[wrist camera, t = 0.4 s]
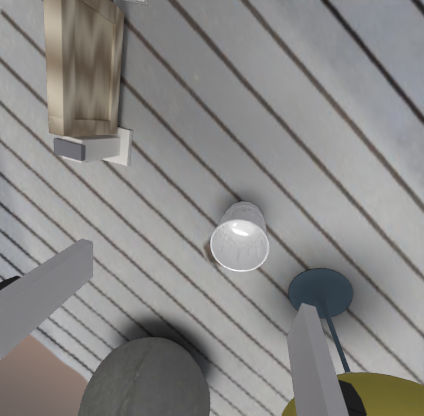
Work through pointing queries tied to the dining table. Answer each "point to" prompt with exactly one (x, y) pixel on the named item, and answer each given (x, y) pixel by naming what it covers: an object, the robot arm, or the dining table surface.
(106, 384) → the ceramic pot
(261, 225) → the white cup
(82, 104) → the gate
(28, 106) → the dining table surface
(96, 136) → the latch post
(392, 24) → the dining table surface
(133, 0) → the hinge post
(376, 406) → the cocktail glass
